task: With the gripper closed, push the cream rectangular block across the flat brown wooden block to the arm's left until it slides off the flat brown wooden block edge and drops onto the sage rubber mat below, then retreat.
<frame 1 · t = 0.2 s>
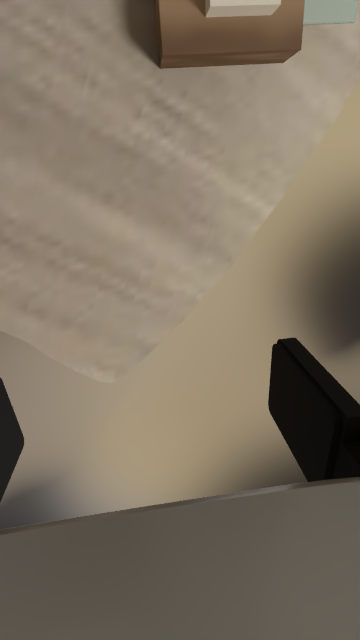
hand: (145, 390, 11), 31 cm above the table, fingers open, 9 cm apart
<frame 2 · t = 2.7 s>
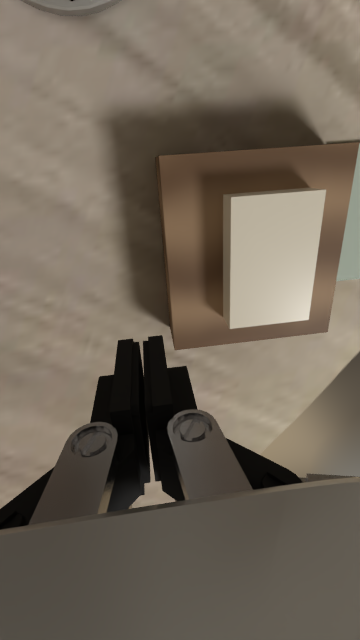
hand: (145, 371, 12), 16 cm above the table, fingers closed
cream rectangular block: (263, 257, 23), point 4 cm above the table, touching flat brown wooden block
mat: (358, 216, 27), on the table
flat brown wooden block: (240, 245, 26), on the table
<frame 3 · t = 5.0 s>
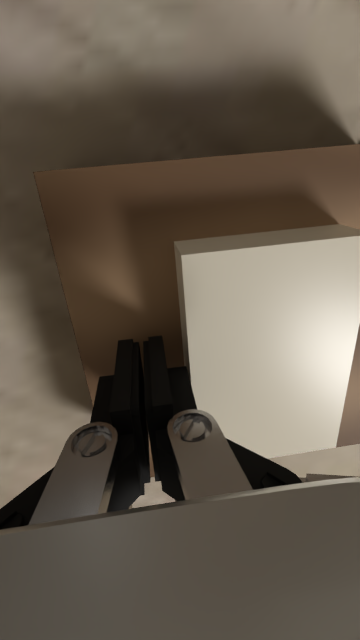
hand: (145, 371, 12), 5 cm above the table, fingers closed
cream rectangular block: (254, 342, 13), point 4 cm above the table, touching flat brown wooden block, gripper
flat brown wooden block: (219, 307, 17), on the table
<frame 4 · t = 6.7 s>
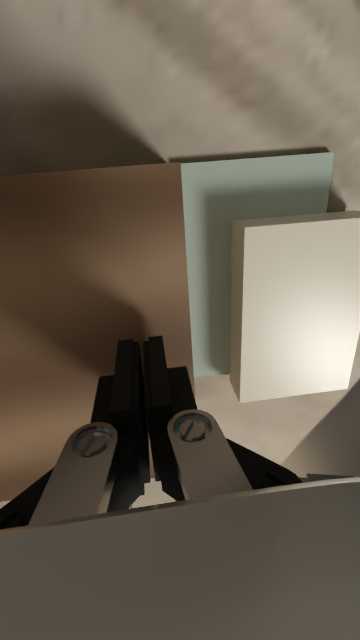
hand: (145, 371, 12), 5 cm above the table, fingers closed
cream rectangular block: (303, 320, 15), point 2 cm above the table, tilted 180°, touching mat
mat: (250, 278, 16), on the table
flat brown wooden block: (53, 327, 16), on the table
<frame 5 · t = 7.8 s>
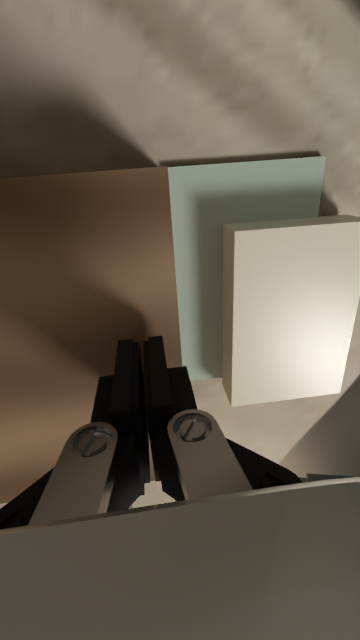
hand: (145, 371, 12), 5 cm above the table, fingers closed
cream rectangular block: (295, 324, 15), point 2 cm above the table, tilted 180°, touching mat
mat: (242, 282, 16), on the table
flat brown wooden block: (44, 330, 16), on the table
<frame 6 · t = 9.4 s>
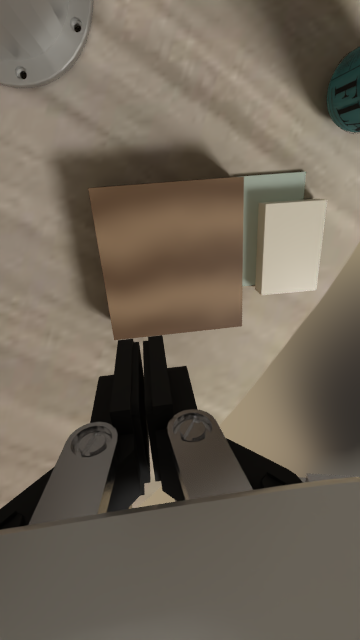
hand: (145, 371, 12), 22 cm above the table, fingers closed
beverage bottle: (349, 96, 29), on the table
cream rectangular block: (292, 249, 31), point 2 cm above the table, tilted 180°, touching mat
mat: (267, 232, 33), on the table
flat brown wooden block: (170, 255, 33), on the table
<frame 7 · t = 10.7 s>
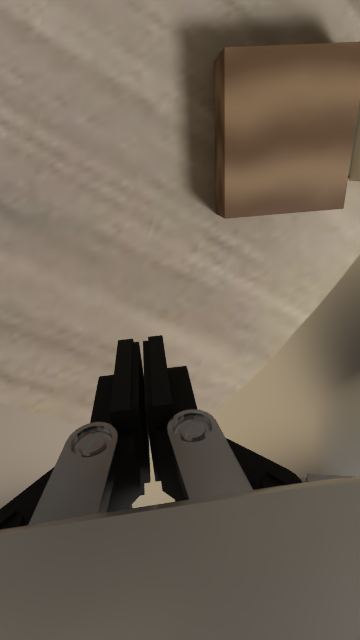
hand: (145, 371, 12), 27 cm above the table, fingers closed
flat brown wooden block: (274, 141, 34), on the table
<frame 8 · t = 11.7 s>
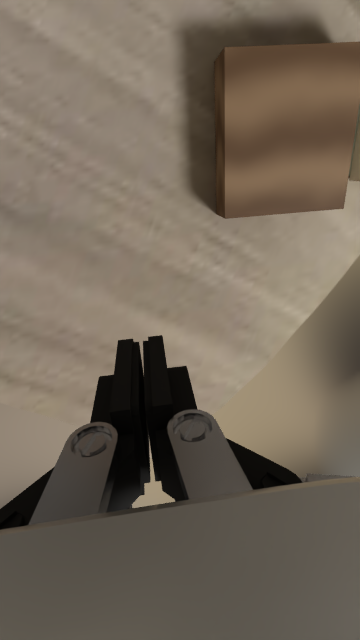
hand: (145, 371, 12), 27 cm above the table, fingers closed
flat brown wooden block: (274, 141, 34), on the table
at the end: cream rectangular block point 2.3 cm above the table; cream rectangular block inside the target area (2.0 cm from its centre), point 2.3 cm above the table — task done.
